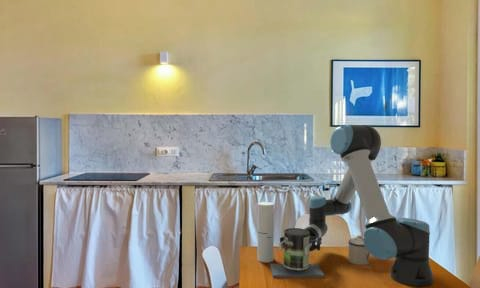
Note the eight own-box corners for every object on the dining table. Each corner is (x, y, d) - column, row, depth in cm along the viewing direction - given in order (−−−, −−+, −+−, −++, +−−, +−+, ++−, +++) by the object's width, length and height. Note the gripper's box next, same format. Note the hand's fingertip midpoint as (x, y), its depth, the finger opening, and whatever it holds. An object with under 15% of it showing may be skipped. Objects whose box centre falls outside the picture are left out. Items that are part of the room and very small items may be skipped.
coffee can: (292, 272, 143) (292, 236, 143) (278, 263, 153) (279, 229, 152) (314, 268, 148) (314, 233, 147) (300, 259, 157) (300, 226, 156)
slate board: (317, 266, 156) (317, 263, 156) (324, 277, 144) (324, 275, 144) (270, 266, 156) (270, 263, 156) (273, 277, 144) (273, 275, 144)
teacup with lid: (372, 266, 157) (372, 239, 157) (350, 265, 158) (350, 238, 158) (365, 256, 169) (366, 231, 168) (345, 255, 170) (345, 230, 170)
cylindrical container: (258, 256, 168) (258, 201, 167) (273, 257, 167) (274, 202, 166) (256, 261, 161) (257, 204, 160) (273, 262, 160) (273, 205, 159)
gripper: (335, 247, 160) (320, 263, 141) (286, 239, 171) (266, 253, 152) (335, 230, 160) (320, 244, 141) (287, 223, 171) (266, 235, 151)
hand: (292, 249), depth 146 cm, fingers closed on coffee can, 10 cm apart
